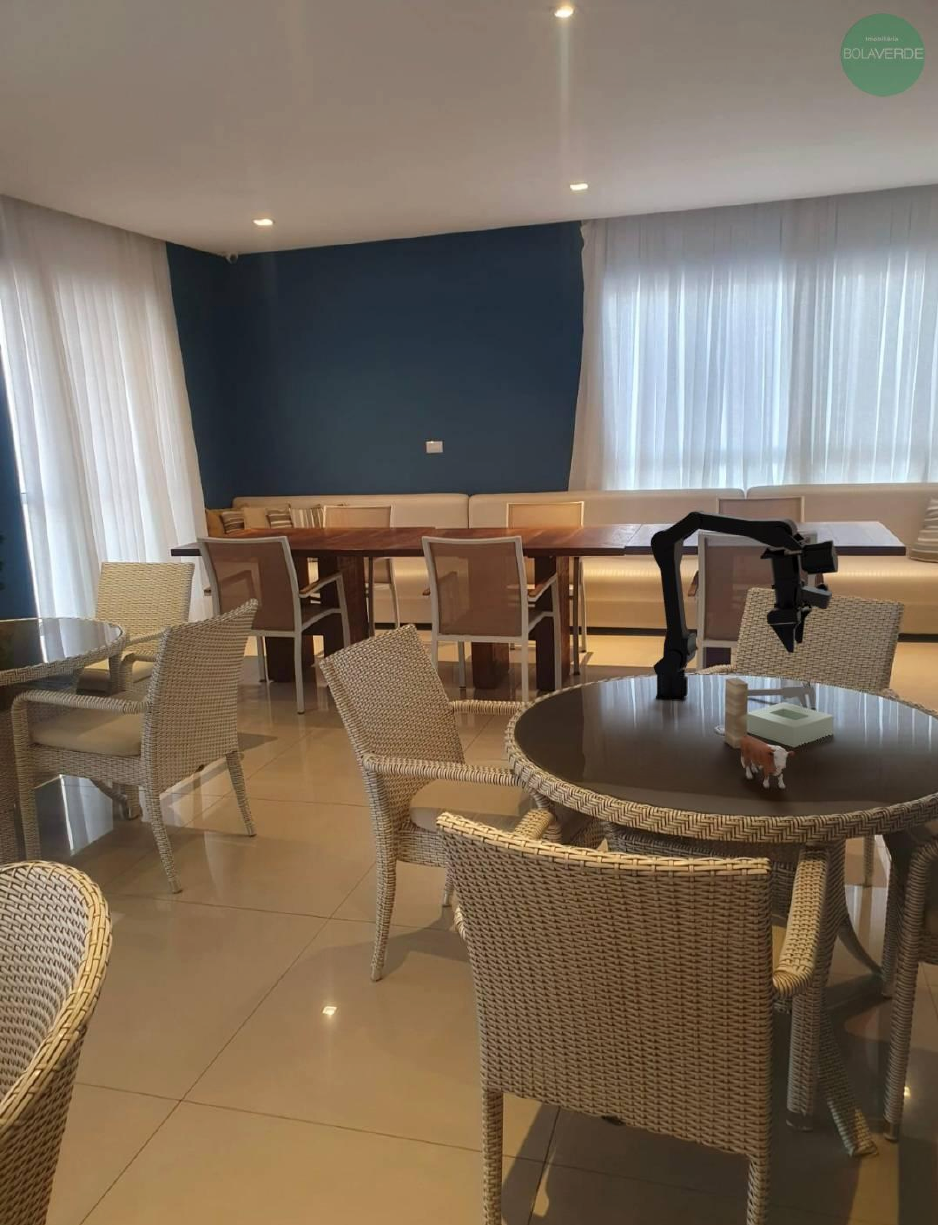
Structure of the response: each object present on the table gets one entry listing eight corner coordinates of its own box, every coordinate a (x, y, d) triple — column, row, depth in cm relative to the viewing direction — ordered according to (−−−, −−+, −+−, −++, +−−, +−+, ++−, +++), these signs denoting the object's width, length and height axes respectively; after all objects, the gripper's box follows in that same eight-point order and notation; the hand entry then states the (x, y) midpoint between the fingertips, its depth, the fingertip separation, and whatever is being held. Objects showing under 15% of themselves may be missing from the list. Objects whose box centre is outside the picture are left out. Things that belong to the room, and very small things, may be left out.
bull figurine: (776, 799, 147) (777, 753, 145) (734, 771, 160) (735, 728, 158) (799, 796, 148) (800, 750, 146) (756, 768, 161) (757, 726, 159)
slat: (734, 748, 171) (735, 684, 168) (724, 741, 175) (725, 678, 173) (746, 747, 171) (747, 683, 169) (736, 739, 176) (737, 677, 173)
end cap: (793, 747, 170) (794, 727, 169) (745, 731, 180) (745, 713, 180) (833, 734, 176) (833, 715, 176) (783, 719, 186) (784, 701, 186)
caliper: (815, 708, 194) (816, 681, 193) (813, 710, 193) (814, 682, 192) (727, 694, 207) (728, 669, 206) (725, 695, 206) (726, 670, 205)
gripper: (818, 580, 175) (827, 655, 177) (833, 567, 191) (842, 636, 193) (761, 585, 181) (771, 658, 183) (781, 572, 197) (789, 639, 199)
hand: (795, 647), depth 189 cm, fingers open, 9 cm apart
